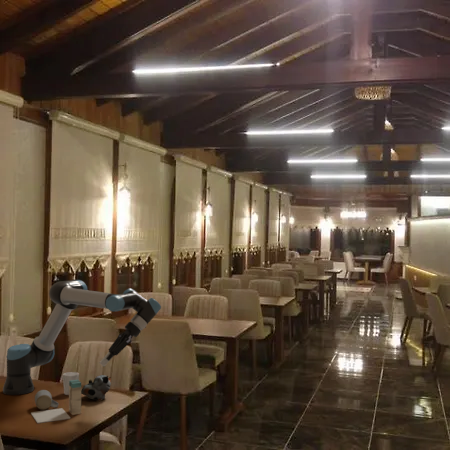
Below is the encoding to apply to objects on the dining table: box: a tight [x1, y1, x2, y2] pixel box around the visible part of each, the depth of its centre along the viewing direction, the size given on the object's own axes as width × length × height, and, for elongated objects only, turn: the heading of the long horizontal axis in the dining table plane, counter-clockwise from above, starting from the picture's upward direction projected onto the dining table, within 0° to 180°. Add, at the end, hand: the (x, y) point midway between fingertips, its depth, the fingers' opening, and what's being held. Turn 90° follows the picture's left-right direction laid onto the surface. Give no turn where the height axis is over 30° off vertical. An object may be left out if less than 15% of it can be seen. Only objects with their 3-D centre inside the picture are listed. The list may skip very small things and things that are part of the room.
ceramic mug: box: [34, 389, 60, 411], centre depth 268 cm, size 11×8×8 cm
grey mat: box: [30, 407, 71, 424], centre depth 256 cm, size 16×14×1 cm
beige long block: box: [68, 379, 82, 416], centre depth 261 cm, size 6×4×14 cm, turn 28°
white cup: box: [62, 371, 80, 396], centre depth 293 cm, size 8×8×10 cm
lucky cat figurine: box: [81, 374, 112, 402], centre depth 284 cm, size 15×12×14 cm
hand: (101, 364), depth 267 cm, fingers closed
